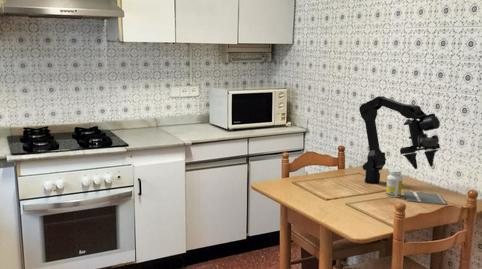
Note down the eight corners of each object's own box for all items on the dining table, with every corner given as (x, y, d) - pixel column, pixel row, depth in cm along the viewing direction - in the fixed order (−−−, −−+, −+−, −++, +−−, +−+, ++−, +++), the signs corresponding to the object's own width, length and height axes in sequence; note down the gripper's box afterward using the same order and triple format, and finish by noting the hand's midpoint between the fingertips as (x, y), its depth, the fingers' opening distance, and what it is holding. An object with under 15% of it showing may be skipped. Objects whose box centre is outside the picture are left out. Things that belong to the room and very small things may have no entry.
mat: (407, 201, 202) (407, 199, 202) (402, 192, 215) (402, 190, 215) (446, 204, 199) (446, 203, 199) (439, 195, 212) (439, 194, 212)
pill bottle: (400, 194, 212) (403, 169, 210) (400, 198, 206) (403, 173, 204) (386, 192, 214) (388, 168, 212) (385, 196, 208) (387, 171, 206)
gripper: (414, 131, 197) (422, 168, 195) (446, 127, 205) (453, 163, 203) (396, 136, 207) (403, 171, 205) (426, 132, 215) (433, 165, 213)
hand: (423, 167), depth 207 cm, fingers open, 9 cm apart
